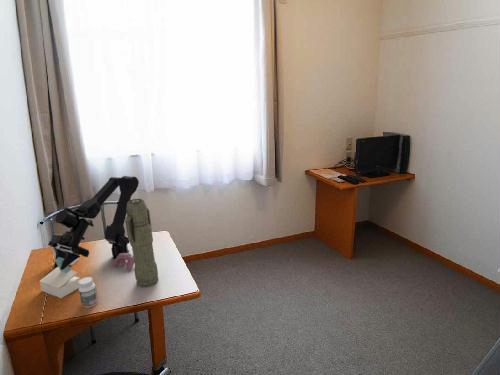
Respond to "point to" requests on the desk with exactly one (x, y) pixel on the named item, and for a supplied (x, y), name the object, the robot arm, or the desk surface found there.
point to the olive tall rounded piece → (141, 242)
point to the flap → (58, 275)
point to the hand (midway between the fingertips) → (58, 268)
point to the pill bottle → (88, 292)
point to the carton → (62, 288)
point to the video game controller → (124, 260)
